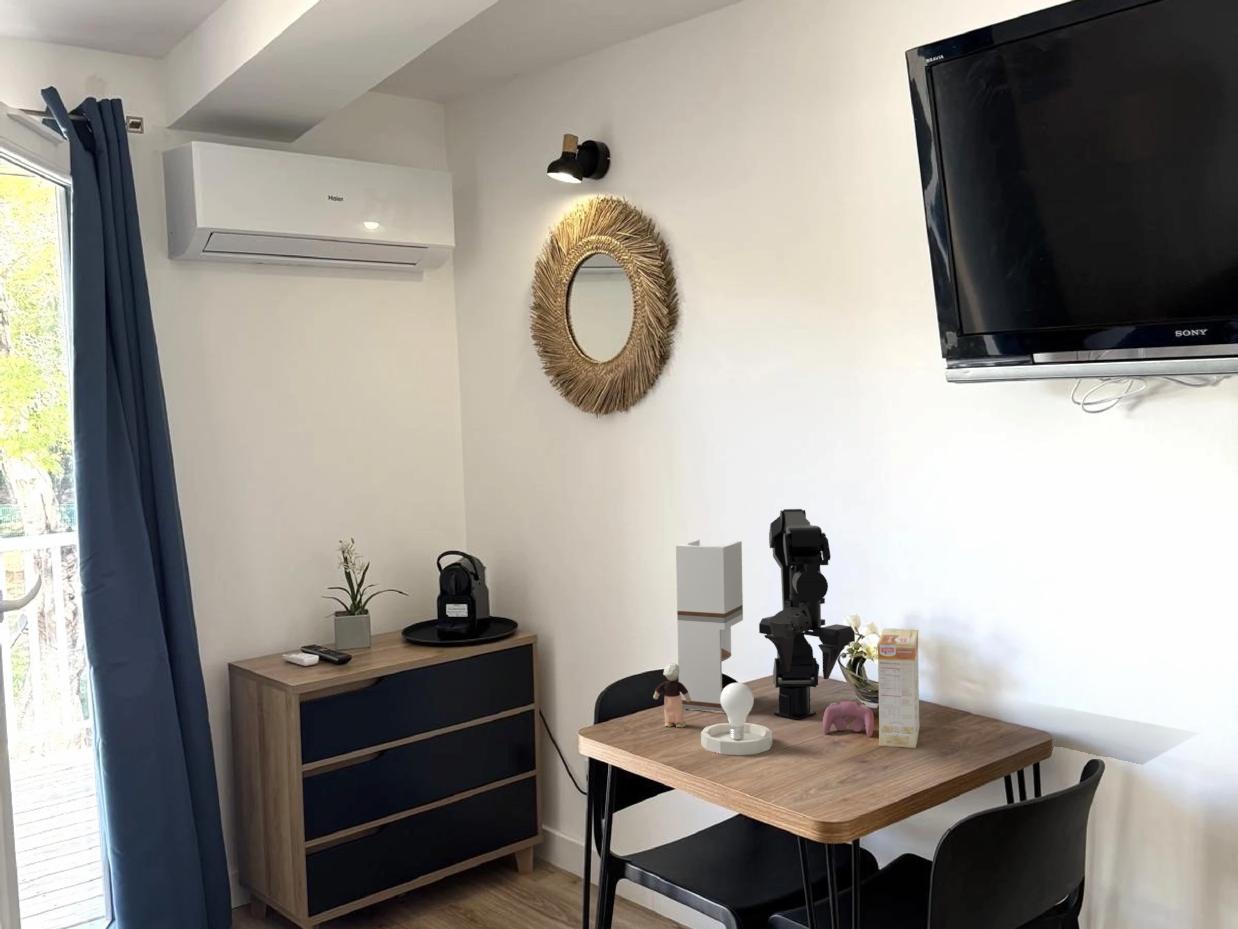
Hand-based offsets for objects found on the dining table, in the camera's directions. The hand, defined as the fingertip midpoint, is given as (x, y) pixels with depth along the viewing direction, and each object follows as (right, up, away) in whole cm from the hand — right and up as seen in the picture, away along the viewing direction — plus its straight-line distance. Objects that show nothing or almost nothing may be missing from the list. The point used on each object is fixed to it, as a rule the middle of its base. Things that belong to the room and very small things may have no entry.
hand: (806, 675), depth 213 cm
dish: (-13, -13, 0) cm, 19 cm away
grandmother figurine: (-25, -13, +14) cm, 31 cm away
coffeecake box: (+19, -13, +4) cm, 23 cm away
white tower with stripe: (-15, -12, +30) cm, 35 cm away
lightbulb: (-13, -13, 0) cm, 18 cm away
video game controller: (+9, -13, +7) cm, 17 cm away
